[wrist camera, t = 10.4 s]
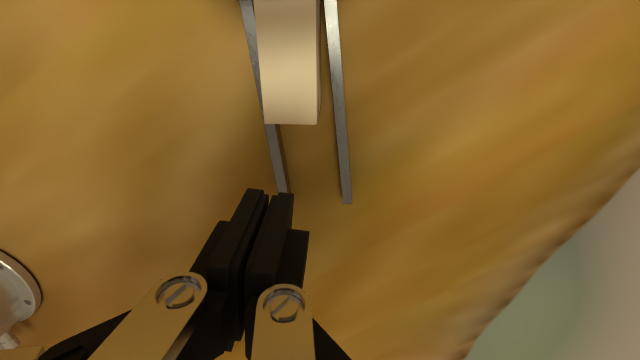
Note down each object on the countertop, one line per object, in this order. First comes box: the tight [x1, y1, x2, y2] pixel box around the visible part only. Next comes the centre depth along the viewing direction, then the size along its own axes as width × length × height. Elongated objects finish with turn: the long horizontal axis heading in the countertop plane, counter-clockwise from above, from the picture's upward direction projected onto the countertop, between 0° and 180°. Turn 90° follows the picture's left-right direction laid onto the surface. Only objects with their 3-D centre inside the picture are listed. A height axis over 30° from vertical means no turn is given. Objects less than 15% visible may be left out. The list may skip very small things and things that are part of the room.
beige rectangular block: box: [253, 0, 321, 125], centre depth 20 cm, size 12×4×5 cm, turn 0°
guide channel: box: [239, 0, 352, 204], centre depth 24 cm, size 16×6×2 cm, turn 7°
